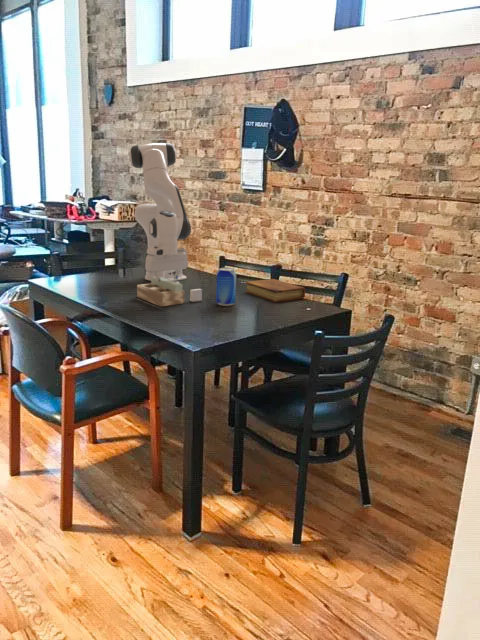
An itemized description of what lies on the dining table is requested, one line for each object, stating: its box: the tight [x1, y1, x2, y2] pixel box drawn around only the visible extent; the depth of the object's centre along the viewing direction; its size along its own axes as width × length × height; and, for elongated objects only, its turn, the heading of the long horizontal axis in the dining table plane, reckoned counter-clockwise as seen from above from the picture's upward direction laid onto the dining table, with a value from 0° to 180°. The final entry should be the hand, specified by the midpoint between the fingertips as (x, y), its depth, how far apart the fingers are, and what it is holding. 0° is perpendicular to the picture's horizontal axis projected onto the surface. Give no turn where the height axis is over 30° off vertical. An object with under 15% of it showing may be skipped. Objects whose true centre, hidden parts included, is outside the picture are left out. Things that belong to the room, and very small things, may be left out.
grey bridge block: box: [150, 276, 183, 292], centre depth 235 cm, size 4×20×8 cm, turn 40°
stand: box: [176, 281, 203, 303], centre depth 242 cm, size 5×20×6 cm, turn 40°
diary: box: [244, 278, 306, 303], centre depth 256 cm, size 23×19×6 cm
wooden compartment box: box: [136, 282, 186, 307], centre depth 233 cm, size 12×20×6 cm, turn 40°
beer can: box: [215, 267, 237, 307], centre depth 231 cm, size 8×8×16 cm
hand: (167, 280), depth 234 cm, fingers open, 8 cm apart
